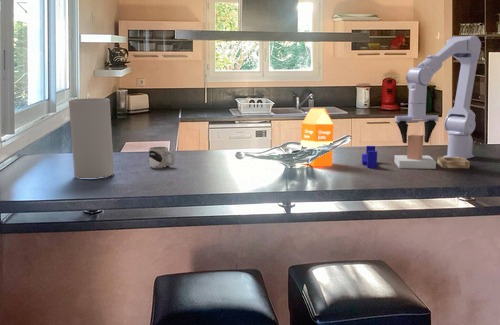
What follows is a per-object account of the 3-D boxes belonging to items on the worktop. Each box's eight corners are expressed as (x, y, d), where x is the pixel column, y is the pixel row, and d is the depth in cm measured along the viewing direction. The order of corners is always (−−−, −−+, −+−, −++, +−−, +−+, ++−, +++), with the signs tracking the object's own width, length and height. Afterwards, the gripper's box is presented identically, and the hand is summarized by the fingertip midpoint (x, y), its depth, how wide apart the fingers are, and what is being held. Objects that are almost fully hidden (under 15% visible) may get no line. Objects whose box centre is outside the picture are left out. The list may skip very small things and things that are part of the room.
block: (422, 157, 187) (423, 135, 185) (418, 159, 184) (419, 136, 182) (410, 156, 189) (412, 134, 187) (407, 158, 186) (408, 135, 184)
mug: (145, 167, 189) (144, 148, 188) (157, 164, 195) (156, 146, 194) (169, 169, 185) (168, 150, 184) (180, 166, 191) (179, 147, 189)
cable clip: (361, 162, 195) (362, 145, 194) (374, 162, 194) (375, 145, 193) (363, 168, 183) (363, 151, 182) (376, 169, 182) (377, 151, 181)
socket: (462, 163, 189) (462, 157, 189) (469, 168, 181) (469, 161, 180) (437, 163, 190) (437, 156, 190) (443, 167, 182) (443, 161, 181)
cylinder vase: (72, 174, 179) (67, 99, 175) (111, 170, 184) (106, 97, 179) (76, 182, 168) (70, 101, 163) (117, 178, 173) (112, 100, 168)
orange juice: (313, 166, 184) (315, 108, 182) (299, 163, 192) (301, 107, 190) (332, 165, 188) (334, 108, 186) (317, 163, 196) (319, 108, 194)
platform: (428, 162, 192) (429, 155, 191) (435, 168, 181) (436, 161, 180) (394, 162, 193) (394, 155, 193) (399, 168, 182) (399, 161, 182)
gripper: (433, 101, 187) (431, 140, 190) (392, 102, 186) (391, 141, 189) (441, 103, 180) (439, 143, 183) (399, 104, 180) (397, 144, 182)
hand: (415, 142), depth 185 cm, fingers open, 7 cm apart
